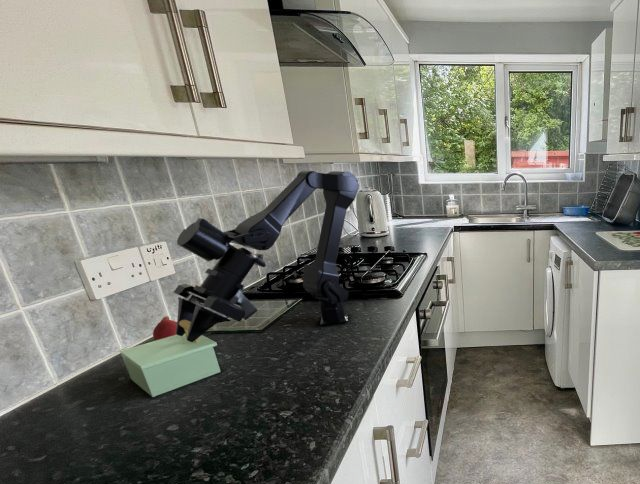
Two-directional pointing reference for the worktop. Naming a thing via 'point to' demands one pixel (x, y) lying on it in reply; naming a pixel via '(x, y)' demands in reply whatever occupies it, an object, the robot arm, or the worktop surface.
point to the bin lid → (166, 349)
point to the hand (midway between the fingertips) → (184, 338)
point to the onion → (165, 329)
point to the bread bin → (174, 372)
